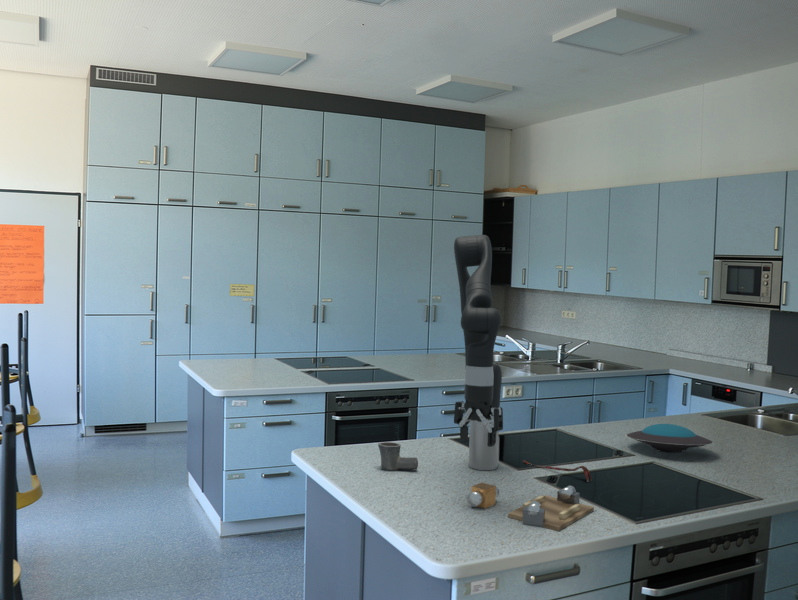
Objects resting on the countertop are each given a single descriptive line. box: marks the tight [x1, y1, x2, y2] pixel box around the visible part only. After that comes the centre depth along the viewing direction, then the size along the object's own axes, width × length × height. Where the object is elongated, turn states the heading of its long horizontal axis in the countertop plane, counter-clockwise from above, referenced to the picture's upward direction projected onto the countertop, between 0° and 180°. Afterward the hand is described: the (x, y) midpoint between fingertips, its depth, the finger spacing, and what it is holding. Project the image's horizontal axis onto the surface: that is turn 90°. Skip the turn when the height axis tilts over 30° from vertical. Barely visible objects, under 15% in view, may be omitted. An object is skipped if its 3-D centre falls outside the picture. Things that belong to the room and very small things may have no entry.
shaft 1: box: [522, 501, 545, 528], centre depth 170 cm, size 4×5×5 cm
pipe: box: [377, 441, 419, 471], centre depth 214 cm, size 6×13×8 cm, turn 79°
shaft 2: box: [556, 485, 581, 505], centre depth 184 cm, size 4×5×5 cm
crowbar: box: [522, 459, 593, 483], centre depth 216 cm, size 26×2×5 cm, turn 38°
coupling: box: [466, 482, 500, 510], centre depth 183 cm, size 10×4×5 cm, turn 140°
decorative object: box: [624, 423, 714, 454], centre depth 245 cm, size 29×29×10 cm
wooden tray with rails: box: [507, 494, 595, 532], centre depth 177 cm, size 20×14×2 cm
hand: (477, 443), depth 182 cm, fingers open, 8 cm apart
